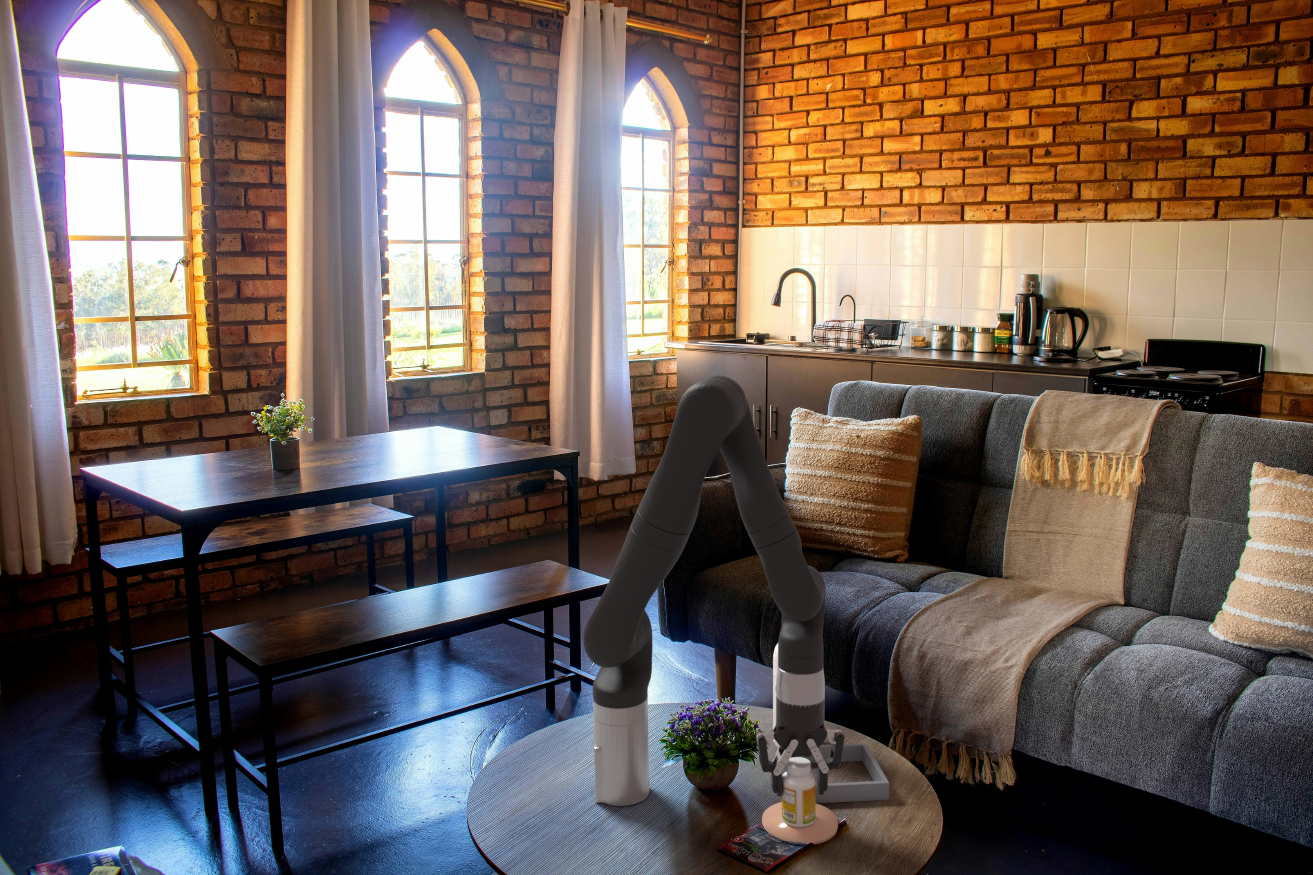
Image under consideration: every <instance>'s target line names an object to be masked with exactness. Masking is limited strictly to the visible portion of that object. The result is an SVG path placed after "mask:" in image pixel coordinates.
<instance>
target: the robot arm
mask: <svg viewBox="0 0 1313 875" xmlns="http://www.w3.org/2000/svg"><path fill="white" fill-rule="evenodd" d="M671 425H672V426H671V429H670V433H669V435H668V440H667V442H666V446H665V449H664V452H663V455H662V457H661V459H660V461H659V463H658V466H657V468H656V469H655V471H654V473H653V475H652V477H651V480H649V483H648V486H647V487H646V490H645V492H644V495H642V498H641V500H640V502H639V505H638V507H637V509H636V512H635V514H634V516H633V519H632V521H631V524H630V526H629V529H628V531H627V535H626V538H625V540H624V542H623V545H622V548H621V549H620V553H619V555H618V557H617V560H616V563H615V566H614V568H613V571H612V574H611V576H610V579H609V581H608V583H607V585H606V587H605V590H604V591H603V593H602V594H601V597H600V598H599V600H598V602H597V604H596V606H595V607H594V609H593V611H592V613H591V614H590V615H589V618H588V619H587V622H586V624H585V626H584V630H583V633H582V642H583V643H582V644H583V648H584V652H585V654H586V655H587V658H588V659H589V660H590V661H591V662H592V663H593V664H595V665H596V666H598V667H600V668H599V671H598V672H597V674H596V676H595V678H594V681H593V682H592V707H593V708H592V709H593V710H592V711H593V755H594V756H593V757H594V758H593V759H594V760H593V761H594V792H595V794H594V795H595V803H603V804H606V805H609V806H614V807H615V806H617V807H627V806H632V805H636V804H638V803H641V802H643V801H644V800H646V799H647V798H648V796H649V795H650V792H651V791H650V753H649V752H650V751H649V749H650V747H649V743H650V742H649V738H650V737H649V702H648V701H649V698H648V696H649V694H648V693H649V692H648V691H649V685H650V683H651V678H652V672H653V627H652V622H651V620H650V618H649V617H650V616H649V614H648V612H647V611H646V610H645V609H646V607H647V605H648V604H649V602H650V600H651V598H652V597H653V595H654V593H656V591H657V590H658V588H659V587H661V586H660V585H662V583H663V582H664V580H665V579H666V578H667V576H668V575H669V574H670V572H671V571H672V569H673V568H674V566H675V565H676V564H677V562H678V560H679V558H680V557H681V555H682V553H683V551H684V549H685V547H686V544H687V542H688V540H689V538H690V535H691V533H692V532H693V529H694V527H695V524H696V521H697V518H698V513H699V509H700V505H701V498H702V492H703V491H702V490H703V485H704V483H705V479H706V475H707V474H708V473H707V472H708V471H709V469H710V467H711V465H712V463H713V461H714V459H715V458H716V455H717V453H718V451H720V453H721V455H722V457H723V459H724V461H725V464H726V467H727V468H728V469H727V470H728V471H729V475H730V478H731V482H732V485H733V486H732V487H733V490H734V495H735V499H736V504H737V507H738V512H739V514H740V517H741V520H742V523H743V525H744V527H745V530H746V531H747V535H748V536H749V539H750V540H751V543H752V545H753V547H754V549H755V550H756V551H755V552H756V553H757V555H758V556H759V558H760V560H761V563H762V567H763V571H764V575H765V577H766V580H767V583H768V587H769V590H770V593H771V595H772V598H773V600H774V603H775V605H776V606H777V607H778V609H779V611H780V612H781V628H780V632H779V634H778V635H779V636H778V641H777V644H778V671H777V678H776V688H775V690H776V726H775V728H774V730H773V729H772V731H771V730H770V731H766V732H764V731H762V730H760V729H759V730H756V732H755V736H756V738H755V739H756V745H757V753H758V760H759V764H760V768H761V771H762V772H764V773H770V775H771V776H770V777H771V778H770V780H771V782H770V783H771V786H770V787H771V789H772V792H773V793H774V794H775V796H776V797H781V798H782V775H783V774H782V772H783V769H784V768H785V767H786V764H787V763H788V761H789V759H790V757H799V756H805V757H811V755H813V756H814V758H815V760H816V762H817V763H816V764H817V765H818V767H816V784H817V791H818V794H819V795H824V791H827V788H828V783H829V782H828V780H829V772H831V770H839V769H840V768H841V763H842V762H841V757H842V751H843V744H845V735H844V733H843V731H842V729H841V728H840V727H839V726H835V727H834V728H833V729H829V728H826V727H825V704H826V703H825V702H826V701H825V694H826V693H825V692H826V689H825V688H826V687H825V686H826V681H825V673H824V671H825V670H824V638H823V632H824V631H823V630H824V621H825V612H826V611H825V610H826V597H827V596H826V593H827V592H826V591H827V587H826V582H825V579H824V577H823V575H822V574H821V572H820V571H818V570H817V569H816V568H815V567H813V566H811V565H808V563H807V561H806V558H805V557H804V554H803V549H802V547H803V546H802V539H801V536H800V534H799V531H798V530H797V529H798V528H797V527H796V525H795V523H794V521H793V518H792V517H791V514H790V512H789V510H788V508H787V506H786V504H785V502H784V500H783V498H782V495H781V493H780V492H779V489H778V487H777V485H776V484H777V483H776V482H775V480H774V477H773V475H772V473H771V469H770V468H769V466H768V462H767V459H766V458H765V457H766V456H765V454H764V452H763V449H762V446H761V444H760V440H759V437H758V434H757V431H756V427H755V423H754V420H753V416H752V413H751V410H750V405H749V402H748V399H747V396H746V393H745V391H744V390H743V388H742V387H741V385H740V384H739V383H738V382H737V381H736V380H734V379H732V378H730V377H728V376H725V375H713V376H709V377H706V378H704V379H702V380H700V381H698V382H696V383H694V384H692V385H691V386H690V387H688V388H687V389H686V390H685V392H684V393H683V394H682V396H681V398H680V400H679V402H678V405H677V409H676V412H675V416H674V420H673V422H672V424H671ZM827 738H828V740H829V743H830V745H831V750H830V757H829V758H828V759H825V760H824V758H823V756H822V754H821V752H820V750H819V747H820V746H821V745H823V743H824V741H825V740H826V739H827ZM773 739H775V740H776V742H777V743H778V744H779V747H777V749H776V751H775V755H774V757H773V758H772V761H770V760H769V754H768V752H769V751H768V748H769V747H770V746H771V744H772V741H773Z"/></svg>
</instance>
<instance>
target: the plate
mask: <svg viewBox="0 0 1313 875" xmlns="http://www.w3.org/2000/svg"><path fill="white" fill-rule="evenodd" d="M761 825H763V826H762V828H763V827H764V828H763V830H764V829H765V830H766V831H767V832H768V833H770V834H771V835H772V836H775V837H777V838H779V839H781V840H785V841H790V842H791V841H792V842H802V843H805V842H811V843H813V844H814V845H818V844H822V843H824V842H827V841H829V840H831V839H832V838H834V836H836V835H837V832H838V830H839V829H838V828H839V821H838V818H837V815H836V814H835V813H834V811H832V810H831V809H829V808H828V807H826V806H824V805H821V804H820V803H816V819H815V822H814V823H813V824H812V825H810V826H807V827H793V826H790V825H788V824H786V823H785V822H784V821H783V819H782V801H780V802H776V803H775V804H772V805H770V806H768V807H767V808H766V809H765V810H764V811H763V813H762V816H761ZM837 829H838V830H837ZM765 830H764V831H765ZM766 831H765V832H766ZM767 832H766V833H767ZM768 833H767V834H768Z"/></svg>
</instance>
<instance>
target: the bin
mask: <svg viewBox="0 0 1313 875" xmlns="http://www.w3.org/2000/svg"><path fill="white" fill-rule="evenodd" d="M819 750H820V752H821V754H822V756H823V758H824V760H825V759H828V758H829V757H830V750H831V744H821V746H820V747H819ZM799 757H802V758H806V759H808V760H809V761H810V762H811V764H817V762H816V760H815V758H814V756H813V755H811V757H805V756H799ZM790 758H793V757H790ZM844 762H845V763H846V762H863V764H864V766H865V768H866V770H867V772H868V773H869V775H870V776H871V777H870V778H872V780H873V781H871V780H870V781H853V782H848V781H847V782H836V783H835V782H830V783H829V782H828V788H827V791H824V795H819V794H818V791H817V783H816V803H817V804H826V803H827V804H828V803H829V804H830V803H847V802H865V801H866V802H868V801H872V802H873V801H888V800H890V782H889V780H888V778H887V777H886V775H885V773H884V772H883V770H882V768H881V766H880V764H879V762H878V761H877V760H876V758H875V755H874V754H873V752H872V751H871V749H870V747H869V746H868V744H867V743H866V742H859V743H856V742H855V743H844V744H843V751H842V757H841V763H844Z"/></svg>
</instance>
